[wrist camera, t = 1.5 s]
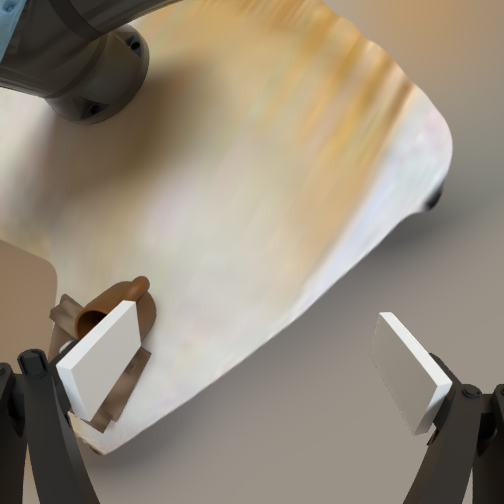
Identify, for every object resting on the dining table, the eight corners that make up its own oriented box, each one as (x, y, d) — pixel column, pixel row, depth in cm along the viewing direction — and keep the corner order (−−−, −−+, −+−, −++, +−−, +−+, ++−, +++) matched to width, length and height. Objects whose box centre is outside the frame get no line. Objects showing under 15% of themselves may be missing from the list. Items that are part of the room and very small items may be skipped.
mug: (142, 242, 35) (105, 261, 25) (188, 281, 36) (165, 313, 26) (100, 305, 37) (65, 335, 28) (140, 340, 38) (113, 378, 29)
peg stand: (48, 369, 41) (34, 383, 36) (65, 293, 37) (46, 305, 32) (117, 418, 42) (107, 436, 37) (151, 353, 38) (139, 372, 33)
